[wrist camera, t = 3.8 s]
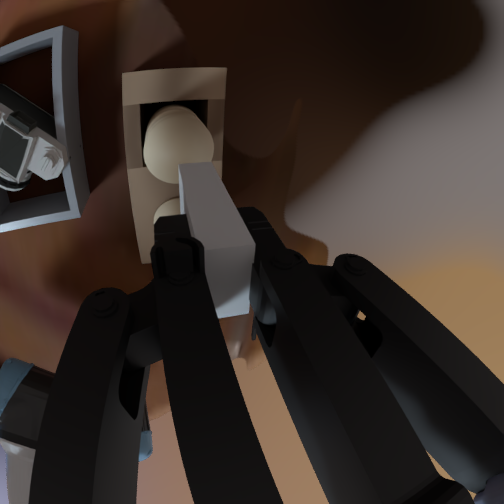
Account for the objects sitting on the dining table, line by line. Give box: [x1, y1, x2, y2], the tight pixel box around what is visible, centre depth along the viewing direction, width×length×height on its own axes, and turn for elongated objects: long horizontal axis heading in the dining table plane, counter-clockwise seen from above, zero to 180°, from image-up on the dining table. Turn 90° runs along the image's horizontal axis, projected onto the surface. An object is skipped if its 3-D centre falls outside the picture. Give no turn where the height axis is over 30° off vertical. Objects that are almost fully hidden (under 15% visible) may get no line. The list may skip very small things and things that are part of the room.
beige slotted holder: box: [122, 67, 227, 264], centre depth 28 cm, size 9×20×8 cm, turn 175°
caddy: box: [0, 25, 90, 232], centre depth 21 cm, size 14×20×6 cm, turn 175°
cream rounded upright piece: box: [144, 104, 214, 184], centre depth 21 cm, size 5×5×8 cm
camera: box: [0, 83, 81, 191], centre depth 19 cm, size 16×9×10 cm, turn 44°
